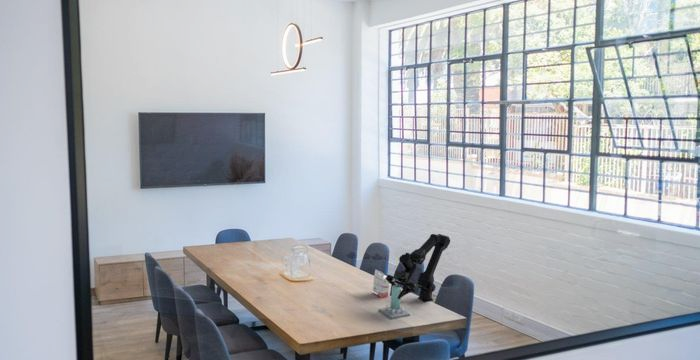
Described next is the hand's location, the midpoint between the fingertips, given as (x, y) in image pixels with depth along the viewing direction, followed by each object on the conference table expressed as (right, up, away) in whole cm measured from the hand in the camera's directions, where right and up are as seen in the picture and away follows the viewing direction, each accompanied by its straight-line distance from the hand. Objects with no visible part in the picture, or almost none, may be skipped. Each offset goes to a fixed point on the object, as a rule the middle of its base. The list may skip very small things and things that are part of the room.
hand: (394, 297), depth 330 cm
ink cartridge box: (-6, -4, +26) cm, 27 cm away
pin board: (0, -9, +3) cm, 9 cm away
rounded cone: (+1, -6, +2) cm, 7 cm away
